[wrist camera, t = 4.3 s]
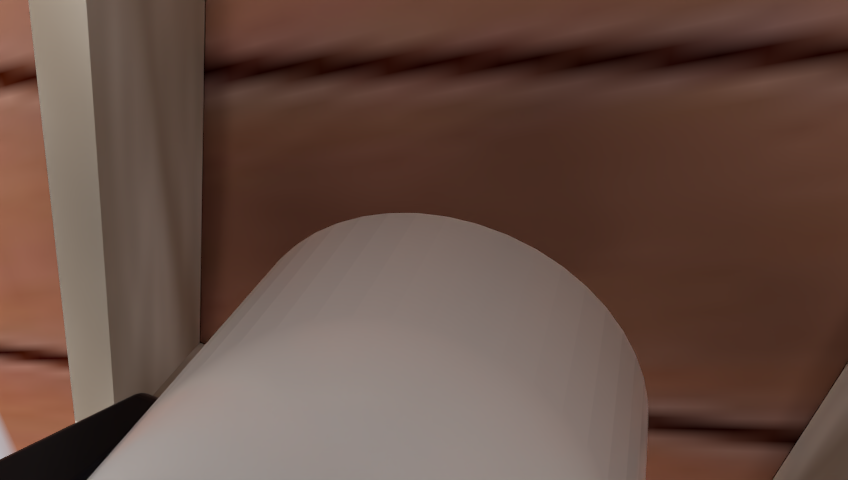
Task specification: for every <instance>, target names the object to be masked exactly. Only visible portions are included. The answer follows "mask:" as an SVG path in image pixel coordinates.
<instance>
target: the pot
mask: <svg viewBox="0 0 848 480" xmlns="http://www.w3.org/2000/svg"><path fill="white" fill-rule="evenodd" d="M647 439H648V398H647V392H646V387H645V381H644V377H643V374H642V371H641V368H640V365H639V362H638V360H637V357H636V354H635V352H634V350H633V348H632V346H631V345H630V343H629V341H628V339H627V337H626V335H625V333H624V331H623V330H622V328H621V327H620V326H619V324H618V323H617V321H616V320H615V319H614V317H613V316H612V314H611V313H610V312H609V310H608V309H607V308H606V306H605V305H604V304H603V303H602V302H601V301H600V300H599V299H598V298H597V297H596V296H595V295H594V294H593V293H592V292H591V291H590V289H589V288H588V287H587V286H586V285H584V284H583V283H582V282H581V281H580V280H578V279H577V278H576V277H575V276H574V275H572V274H571V273H570V272H569V271H568V270H566V269H565V268H564V267H563V266H561V265H560V264H558V263H557V262H555V261H554V260H552V259H551V258H549V257H548V256H546V255H544V254H543V253H541V252H540V251H538V250H537V249H535V248H533V247H531V246H529V245H527V244H525V243H523V242H521V241H519V240H517V239H515V238H513V237H511V236H509V235H507V234H504V233H501V232H499V231H496V230H493V229H490V228H488V227H485V226H482V225H479V224H476V223H472V222H468V221H464V220H460V219H455V218H451V217H446V216H438V215H430V214H422V213H385V214H378V215H370V216H362V217H358V218H355V219H351V220H347V221H343V222H340V223H336V224H334V225H332V226H330V227H327V228H325V229H323V230H320V231H318V232H316V233H314V234H312V235H311V236H309V237H308V238H306V239H304V240H303V241H301V242H300V243H298V244H297V245H295V246H294V247H293V248H292V249H291V250H290V251H288V252H287V253H286V254H285V255H284V256H283V257H282V258H281V259H280V260H279V261H278V262H277V263H276V264H275V265H274V266H273V268H272V269H271V270H270V271H269V272H268V273H267V274H266V276H265V277H264V278H263V279H262V280H261V281H260V282H259V284H258V285H257V286H256V287H255V288H254V289H253V290H252V292H251V293H250V294H249V295H248V296H247V297H246V298H245V300H244V301H243V302H242V303H241V304H240V305H239V306H238V308H237V309H236V310H235V311H234V312H233V313H232V314H231V316H230V317H229V318H228V319H227V320H226V321H225V322H224V324H223V325H222V326H221V327H220V328H219V329H218V330H217V332H216V333H215V334H214V335H213V336H212V337H211V338H210V340H209V341H208V342H207V343H206V344H205V345H204V346H203V348H202V349H201V350H200V351H199V352H198V353H197V354H196V356H195V357H194V358H193V359H192V360H191V361H190V362H189V364H188V365H187V366H186V367H185V368H184V369H183V370H182V372H181V373H180V374H179V375H178V376H177V377H176V378H175V380H174V381H173V382H172V383H171V384H170V385H169V386H168V388H167V389H166V390H165V391H164V392H163V393H162V394H161V396H160V397H159V398H158V399H157V400H156V401H155V402H154V404H153V405H152V406H151V407H150V408H149V409H148V410H147V412H146V413H145V414H144V415H143V416H142V417H141V418H140V420H139V421H138V422H137V423H136V424H135V425H134V426H133V428H132V429H131V430H130V431H129V432H128V433H127V434H126V436H125V437H124V438H123V439H122V440H121V441H120V442H119V444H118V445H117V446H116V447H115V448H114V449H113V450H112V452H111V453H110V454H109V455H108V456H107V457H106V458H105V460H104V461H103V462H102V463H101V464H100V465H99V466H98V468H97V469H96V470H95V471H94V472H93V473H92V474H91V476H90V477H89V478H88V479H87V480H646V461H647Z"/></svg>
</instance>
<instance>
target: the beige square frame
mask: <svg viewBox="0 0 848 480" xmlns="http://www.w3.org/2000/svg"><path fill="white" fill-rule="evenodd" d="M28 1H29V10H30V19H31V28H32V37H33V46H34V55H35V64H36V73H37V82H38V91H39V100H40V109H41V118H42V127H43V136H44V145H45V154H46V163H47V172H48V181H49V190H50V199H51V208H52V217H53V227H54V236H55V245H56V254H57V263H58V272H59V281H60V290H61V299H62V308H63V317H64V326H65V335H66V344H67V353H68V362H69V371H70V380H71V389H72V398H73V407H74V416H75V423H76V422H78V421H80V420H83V419H85V418H87V417H89V416H91V415H93V414H95V413H97V412H99V411H101V410H103V409H105V408H107V407H109V406H111V405H113V404H115V403H117V402H120V401H122V400H124V399H126V398H128V397H130V396H132V395H134V394H137V393H147V394H150V395H153V396H155V397H158V398H159V397H160V396H161V394H162V393H163V392H164V391H165V390H166V389H167V388H168V386H169V385H170V384H171V383H172V382H173V381H174V380H175V378H176V377H177V376H178V375H179V374H180V373H181V372H182V370H183V369H184V368H185V367H186V366H187V365H188V364H189V362H190V361H191V360H192V359H193V358H194V357H195V356H196V354H197V353H198V352H199V351H200V350H201V349H202V348H203V346H204V345H205V344H202V343H200V288H201V224H202V160H203V96H204V32H205V0H28ZM773 480H848V363H847V365H846V367H845V368H844V370H843V371H842V373H841V374H840V376H839V377H838V379H837V381H836V382H835V384H834V385H833V387H832V388H831V390H830V391H829V393H828V395H827V396H826V398H825V399H824V401H823V402H822V404H821V405H820V407H819V408H818V410H817V412H816V413H815V415H814V416H813V418H812V419H811V421H810V422H809V424H808V426H807V427H806V429H805V430H804V432H803V433H802V435H801V436H800V438H799V440H798V441H797V443H796V444H795V446H794V447H793V449H792V450H791V452H790V454H789V455H788V457H787V458H786V460H785V461H784V463H783V464H782V466H781V468H780V469H779V471H778V472H777V474H776V475H775V477H774V478H773Z"/></svg>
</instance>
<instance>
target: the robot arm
mask: <svg viewBox="0 0 848 480" xmlns="http://www.w3.org/2000/svg"><path fill="white" fill-rule="evenodd" d="M157 399H158V397H155V396H153V395H150V394H147V393H137V394H134V395H132V396H130V397H128V398H126V399H124V400H122V401H120V402H117V403H115V404H113V405H111V406H109V407H107V408H105V409H103V410H101V411H99V412H97V413H95V414H93V415H91V416H89V417H87V418H85V419H83V420H80V421H78V422H76V423H74V424H72V425H70V426H68V427H66V428H64V429H62V430H60V431H58V432H56V433H54V434H52V435H50V436H48V437H46V438H43V439H41V440H39V441H37V442H35V443H33V444H31V445H29V446H27V447H25V448H23V449H21V450H19V451H17V452H15V453H13V454H11V455H9V456H7V457H4V458H2V459H0V480H87V479H88V478H89V477H90V476H91V474H92V473H93V472H94V471H95V470H96V469H97V468H98V466H99V465H100V464H101V463H102V462H103V461H104V460H105V458H106V457H107V456H108V455H109V454H110V453H111V452H112V450H113V449H114V448H115V447H116V446H117V445H118V444H119V442H120V441H121V440H122V439H123V438H124V437H125V436H126V434H127V433H128V432H129V431H130V430H131V429H132V428H133V426H134V425H135V424H136V423H137V422H138V421H139V420H140V418H141V417H142V416H143V415H144V414H145V413H146V412H147V410H148V409H149V408H150V407H151V406H152V405H153V404H154V402H155V401H156V400H157Z"/></svg>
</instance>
